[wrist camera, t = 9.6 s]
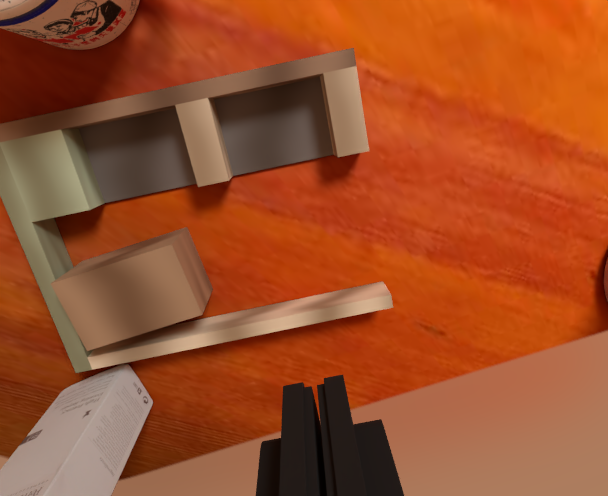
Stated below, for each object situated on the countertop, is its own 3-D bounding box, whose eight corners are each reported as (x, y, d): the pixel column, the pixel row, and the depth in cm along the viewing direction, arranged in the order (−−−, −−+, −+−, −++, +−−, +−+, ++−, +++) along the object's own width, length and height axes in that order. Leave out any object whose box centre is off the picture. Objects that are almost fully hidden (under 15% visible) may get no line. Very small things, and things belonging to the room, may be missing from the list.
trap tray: (347, 54, 27) (353, 47, 24) (384, 293, 32) (393, 307, 29) (-1, 129, 27) (-28, 129, 25) (91, 354, 32) (75, 372, 30)
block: (187, 226, 30) (171, 244, 26) (213, 287, 31) (202, 314, 27) (83, 260, 30) (50, 283, 26) (113, 319, 32) (87, 351, 27)
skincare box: (127, 359, 32) (41, 491, 21) (157, 403, 34) (91, 551, 22) (59, 390, 33) (-62, 535, 21) (91, 432, 34) (-8, 591, 23)
